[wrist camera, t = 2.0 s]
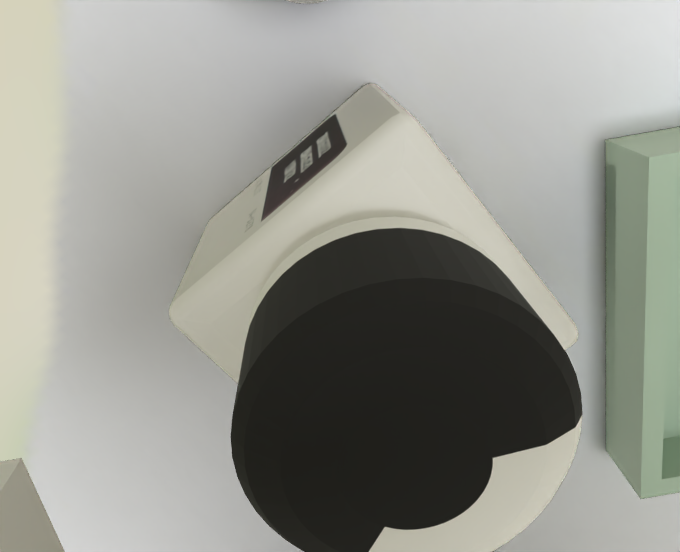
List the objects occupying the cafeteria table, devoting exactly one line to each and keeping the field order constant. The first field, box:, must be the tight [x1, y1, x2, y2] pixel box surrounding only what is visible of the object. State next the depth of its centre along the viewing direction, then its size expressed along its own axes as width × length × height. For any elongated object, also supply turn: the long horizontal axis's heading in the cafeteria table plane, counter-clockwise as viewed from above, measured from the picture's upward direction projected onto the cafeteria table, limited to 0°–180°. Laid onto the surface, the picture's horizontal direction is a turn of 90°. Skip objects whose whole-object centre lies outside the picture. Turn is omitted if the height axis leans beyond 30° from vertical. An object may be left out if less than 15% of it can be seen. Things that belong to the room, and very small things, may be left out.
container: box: [169, 83, 582, 552], centre depth 17 cm, size 8×8×13 cm
